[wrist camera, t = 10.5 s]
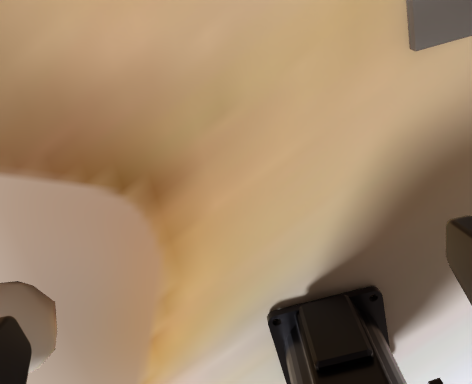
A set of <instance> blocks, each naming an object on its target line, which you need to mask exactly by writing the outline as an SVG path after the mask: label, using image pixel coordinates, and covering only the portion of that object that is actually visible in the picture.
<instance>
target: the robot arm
mask: <svg viewBox="0 0 472 384" xmlns="http://www.w3.org/2000/svg"><path fill="white" fill-rule="evenodd" d="M446 257H447V261H448V263H449V266H450V267H451V269H452V271H453V273H454V275H455V276H456V278H457V280H458V282H459V283H460V285H461V287H462V289H463V291H464V292H465V294H466V296H467V298H468V300H469V301H470V303H471V305H472V216H463V217H458V218H454V219H450V220H449V221H448V222H447V225H446ZM371 295H374V296H372V297H370V296H371ZM275 319H279V320H276V321H274V320H275ZM267 320H268V325H269V328H270V332H271V335H272V338H273V341H274V344H275V348H276V351H277V354H278V357H279V360H280V364H281V367H282V370H283V373H284V376H285V380H286V383H287V384H407V383H406V381H405V379H404V377H403V375H402V373H401V371H400V369H399V367H398V365H397V363H396V361H395V359H394V357H393V355H392V353H391V351H390V347H389V340H388V333H387V326H386V319H385V311H384V304H383V297H382V294H381V292H380V290H379V289H378V288H377V287H374V286H371V287H366V288H362V289H358V290H354V291H350V292H346V293H343V294H339V295H335V296H331V297H327V298H323V299H319V300H315V301H311V302H307V303H303V304H299V305H295V306H291V307H287V308H283V309H279V310H275V311H272V312H270V313H269V314H268V316H267ZM31 356H32V348H31V344H30V342H29V340H28V338H27V337H26V335H25V333H24V332H23V330H22V328H21V327H20V325H19V323H18V322H17V320H16V319H15V318H14V317H12V316H4V317H0V384H26V382H27V376H28V372H29V366H30V361H31ZM428 383H429V384H443V382H442V381H441V379H440V378H437V379H434V380H432V381H429V382H428Z"/></svg>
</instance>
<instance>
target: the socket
mask: <svg viewBox="0 0 472 384" xmlns="http://www.w3.org/2000/svg"><path fill="white" fill-rule="evenodd" d="M406 3H407V17H408V30H409V44H410V49H411V50H414V51H419V50H422V49H426V48H429V47H433V46H437V45H440V44H444V43H447V42H451V41H454V40H458V39H461V38H465V37H469V36H472V0H406Z"/></svg>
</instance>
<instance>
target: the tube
mask: <svg viewBox="0 0 472 384" xmlns="http://www.w3.org/2000/svg"><path fill="white" fill-rule="evenodd" d="M4 316H12V317H14V318H15V319H16V320H17V322H18V323H19V325H20V327H21V328H22V330H23V332H24V333H25V335H26V337H27V338H28V340H29V342H30V344H31V348H32V356H31V361H30V366H29V372H28V373H31V372H33V371H35V370H37V369H39V367H40V366H41V365H42V364H43V363H44V362H45V361H46V359H47V358H48V357H49V356H50V355H51V353H53V351H54V350H55V345H56V336H57V322H56V309H55V302H54V301H52V300H51V299H50V298H49V297H47V296H46V295H45V294H43V293H42V292H41V291H39V290H38V289H37V288H35V287H34V286H32V285H29V284H25V283H22V282H19V281H15V282H7V283H0V317H4Z"/></svg>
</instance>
